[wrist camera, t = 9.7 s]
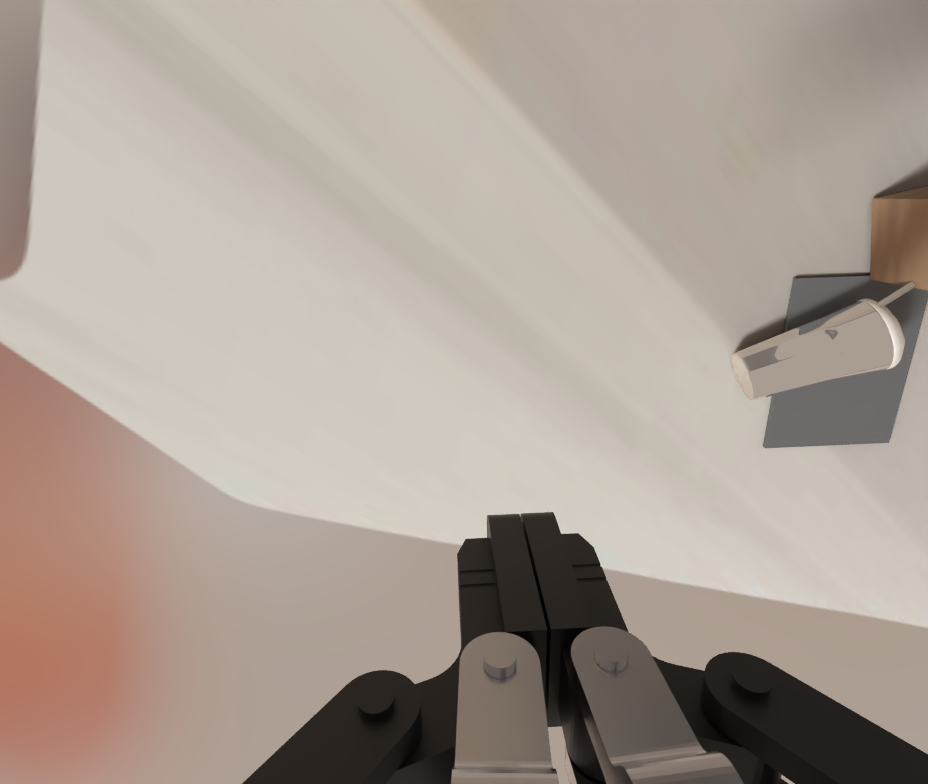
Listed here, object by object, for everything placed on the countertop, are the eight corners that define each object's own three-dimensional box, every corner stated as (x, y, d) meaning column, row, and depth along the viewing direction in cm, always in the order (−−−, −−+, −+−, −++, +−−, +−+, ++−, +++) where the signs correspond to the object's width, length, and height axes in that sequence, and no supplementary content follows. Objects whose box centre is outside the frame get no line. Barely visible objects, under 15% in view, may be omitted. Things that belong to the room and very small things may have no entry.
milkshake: (723, 321, 37) (889, 263, 35) (729, 378, 40) (881, 329, 38) (756, 365, 33) (942, 304, 32) (759, 424, 37) (928, 372, 35)
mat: (793, 277, 37) (796, 278, 36) (930, 273, 37) (934, 273, 37) (762, 446, 41) (765, 448, 41) (885, 440, 41) (888, 442, 41)
